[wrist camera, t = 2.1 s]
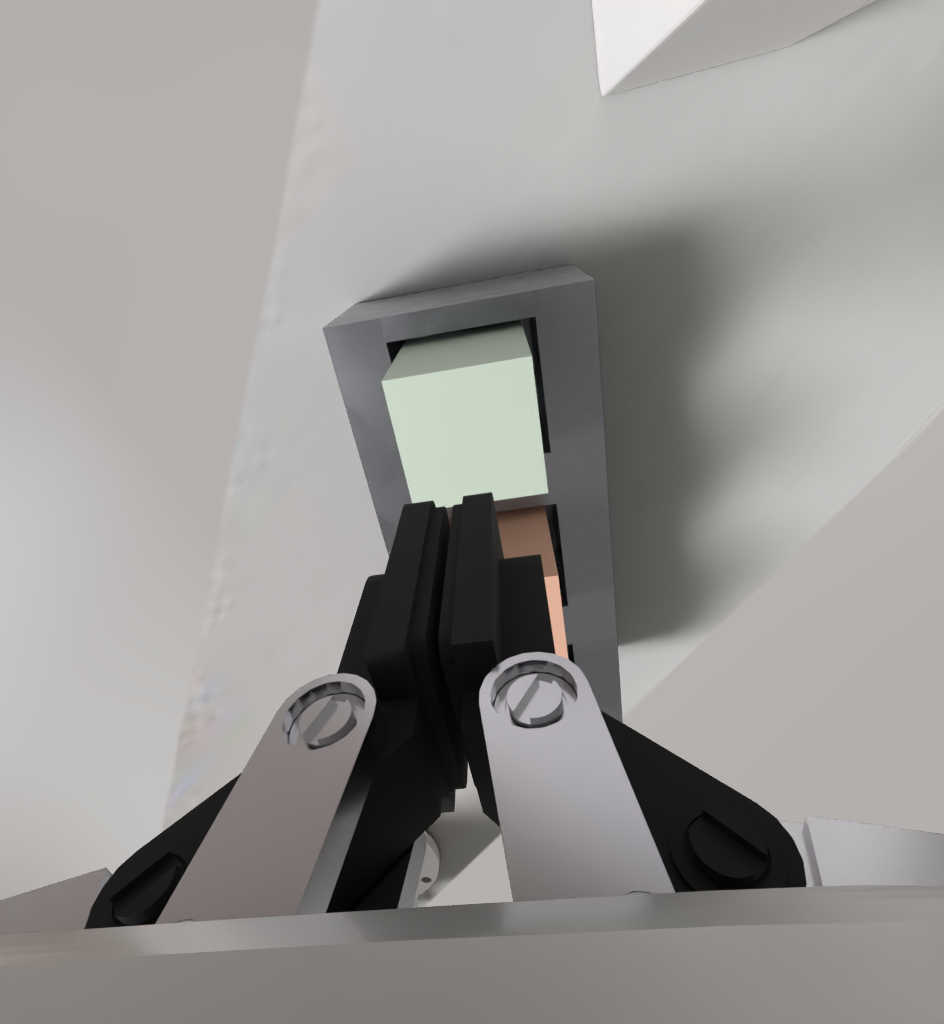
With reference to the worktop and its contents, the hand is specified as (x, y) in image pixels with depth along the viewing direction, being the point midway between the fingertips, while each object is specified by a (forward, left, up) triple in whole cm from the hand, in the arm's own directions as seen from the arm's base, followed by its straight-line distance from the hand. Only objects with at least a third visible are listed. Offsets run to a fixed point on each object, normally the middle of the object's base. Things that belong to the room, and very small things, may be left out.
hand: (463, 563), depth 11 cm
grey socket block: (-8, 0, -18) cm, 20 cm away
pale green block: (0, 0, -14) cm, 14 cm away
